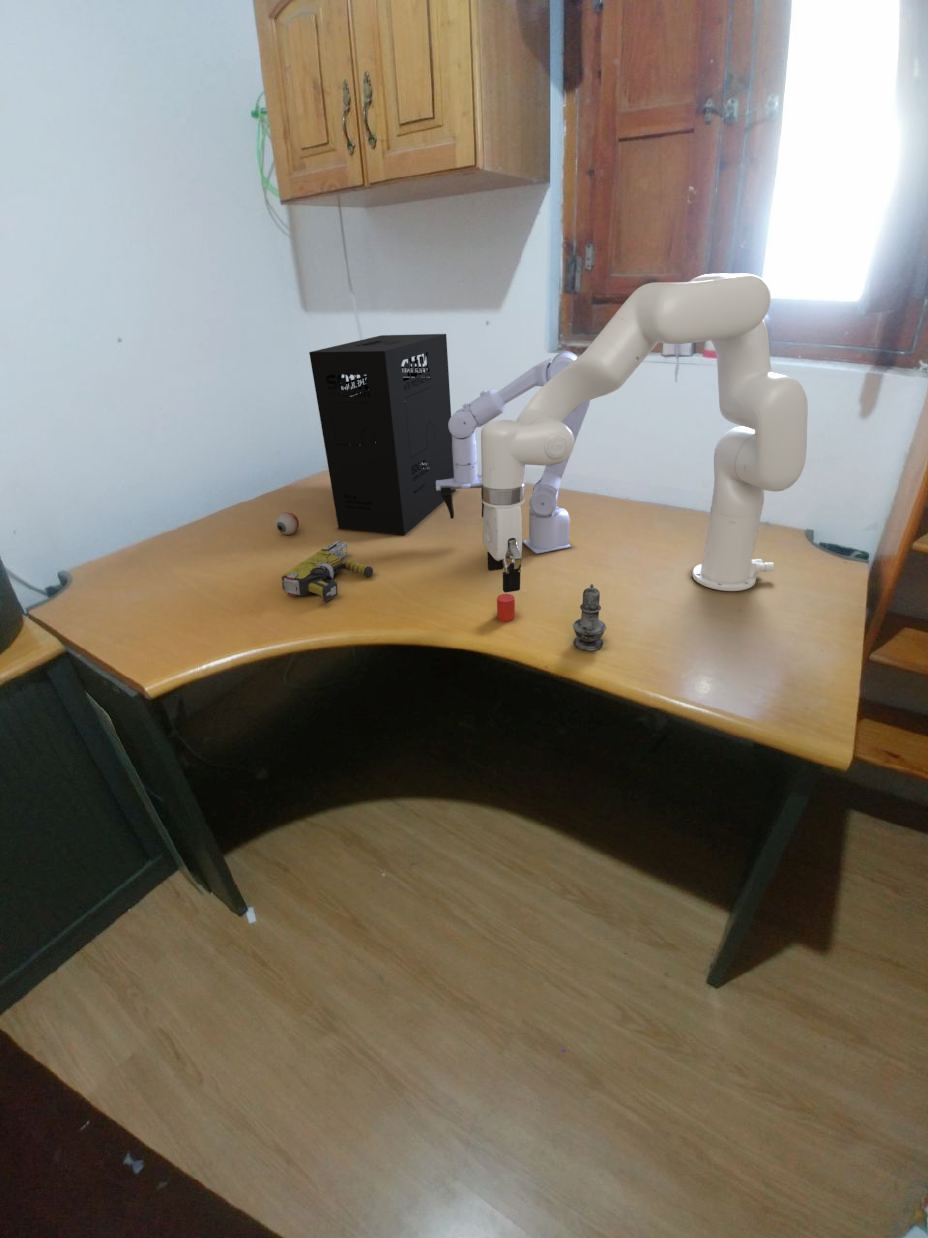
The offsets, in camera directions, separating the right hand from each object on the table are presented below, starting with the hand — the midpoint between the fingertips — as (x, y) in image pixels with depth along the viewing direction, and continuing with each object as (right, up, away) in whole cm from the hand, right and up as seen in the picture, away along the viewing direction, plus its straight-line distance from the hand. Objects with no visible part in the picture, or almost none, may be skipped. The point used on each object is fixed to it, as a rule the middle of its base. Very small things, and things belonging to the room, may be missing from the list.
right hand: (503, 579), depth 116 cm
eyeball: (-55, +16, +49) cm, 76 cm away
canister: (+1, -7, +4) cm, 8 cm away
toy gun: (-37, +2, +23) cm, 43 cm away
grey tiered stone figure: (+15, -12, -6) cm, 20 cm away
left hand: (-7, +18, +34) cm, 39 cm away
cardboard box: (-26, +25, +63) cm, 72 cm away
